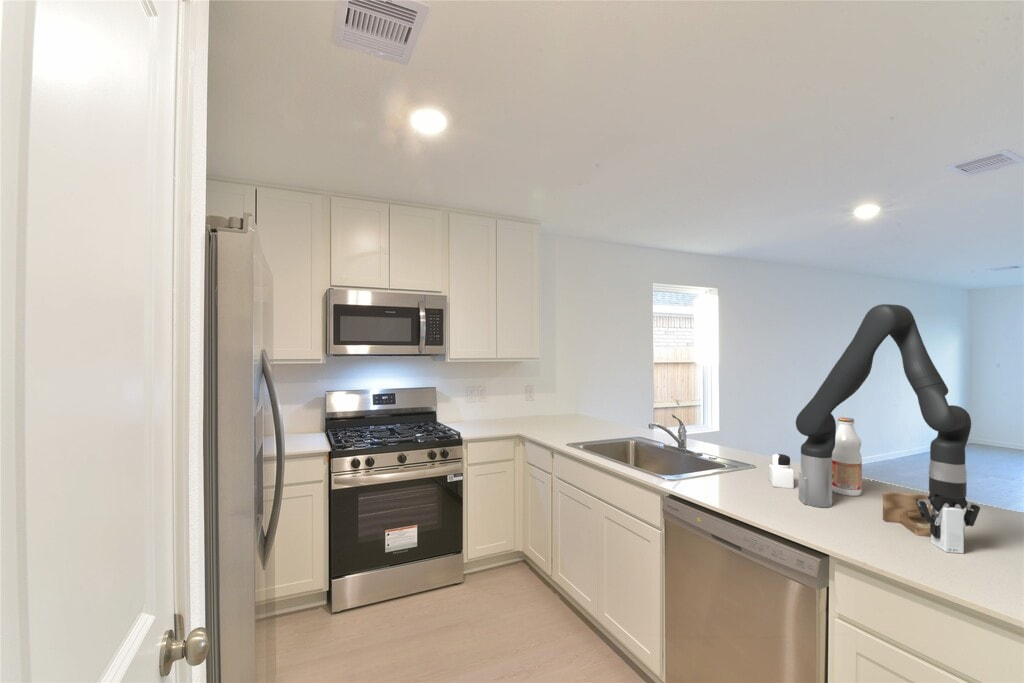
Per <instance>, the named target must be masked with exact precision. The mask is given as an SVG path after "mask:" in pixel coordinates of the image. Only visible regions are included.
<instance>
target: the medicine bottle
mask: <svg viewBox="0 0 1024 683" xmlns="http://www.w3.org/2000/svg"><path fill="white" fill-rule="evenodd" d="M771 457H772V459H771V460H772V464H771V463H770V464H769V468H768V470H769V471H768V474H769V475H768V479H769V484H770V485H771V486H772V487H773V488H778V489H779V488H781V489H792V490H794V489H795V488H794V487H795V486H794V485H795V482H794V480H795V479H794V475H795V472H794V470H793V468H791V457H790V456H789V455H786V454H783V453H775V454H773V455H772V456H771Z"/></svg>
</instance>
